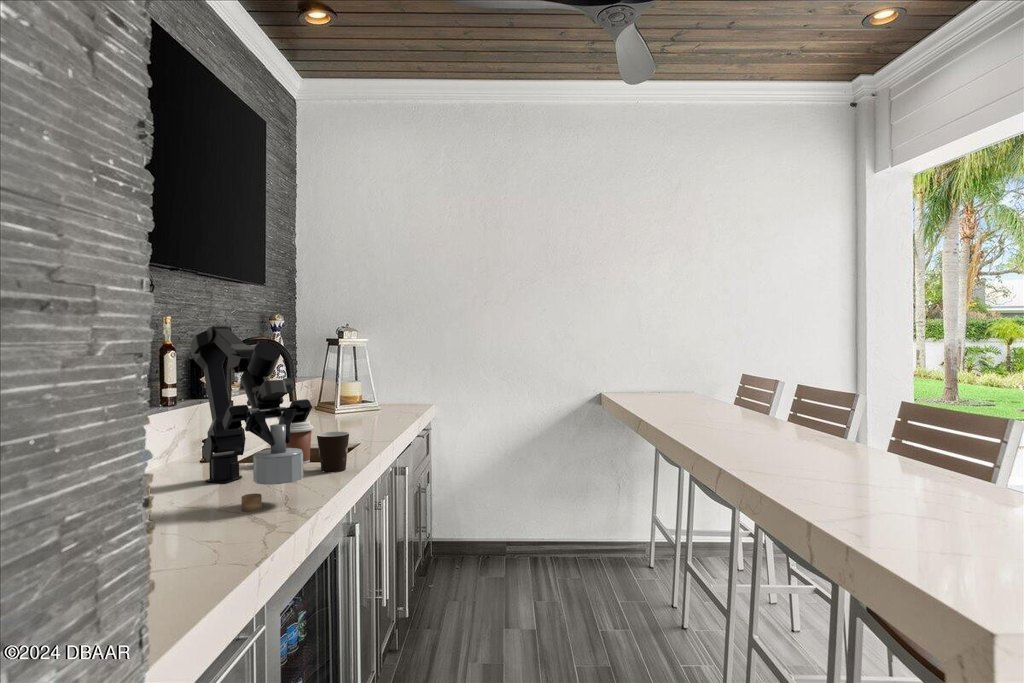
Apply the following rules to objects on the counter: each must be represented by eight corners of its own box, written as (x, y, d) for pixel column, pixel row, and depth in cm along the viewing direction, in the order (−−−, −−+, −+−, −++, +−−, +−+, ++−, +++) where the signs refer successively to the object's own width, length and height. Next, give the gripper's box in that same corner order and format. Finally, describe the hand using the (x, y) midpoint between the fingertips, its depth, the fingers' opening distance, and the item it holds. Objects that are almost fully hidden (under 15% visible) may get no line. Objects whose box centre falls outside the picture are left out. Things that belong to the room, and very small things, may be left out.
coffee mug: (340, 474, 167) (340, 436, 167) (311, 473, 169) (310, 436, 168) (359, 464, 178) (359, 430, 178) (332, 464, 180) (331, 429, 180)
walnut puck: (237, 511, 132) (237, 497, 132) (249, 506, 136) (249, 493, 136) (253, 512, 131) (253, 498, 131) (265, 507, 135) (265, 493, 135)
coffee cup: (315, 458, 189) (315, 419, 188) (312, 464, 180) (312, 423, 180) (284, 460, 187) (283, 420, 187) (279, 466, 178) (278, 424, 178)
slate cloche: (244, 482, 136) (243, 427, 135) (278, 472, 145) (277, 421, 145) (279, 486, 132) (278, 429, 131) (312, 475, 141) (311, 423, 141)
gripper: (226, 369, 134) (248, 425, 126) (307, 365, 147) (332, 415, 139) (213, 402, 140) (233, 458, 132) (293, 396, 153) (315, 446, 145)
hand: (280, 443), depth 137 cm, fingers closed on slate cloche, 3 cm apart
